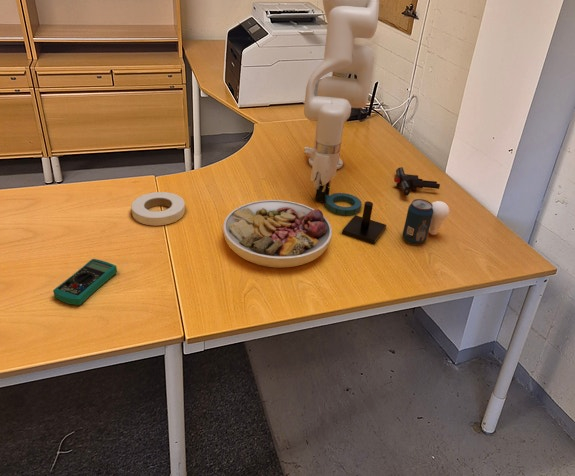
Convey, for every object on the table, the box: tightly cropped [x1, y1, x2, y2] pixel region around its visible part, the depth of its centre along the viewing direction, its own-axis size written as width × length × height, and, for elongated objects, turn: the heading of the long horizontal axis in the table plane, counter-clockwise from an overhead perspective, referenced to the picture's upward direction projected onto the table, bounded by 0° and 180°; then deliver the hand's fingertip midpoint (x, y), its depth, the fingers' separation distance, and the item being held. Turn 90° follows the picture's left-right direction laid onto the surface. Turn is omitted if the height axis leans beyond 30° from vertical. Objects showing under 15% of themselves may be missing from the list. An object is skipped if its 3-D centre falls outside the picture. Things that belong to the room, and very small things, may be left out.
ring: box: [314, 192, 362, 217], centre depth 165 cm, size 15×11×2 cm
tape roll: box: [131, 191, 186, 227], centre depth 154 cm, size 16×15×3 cm
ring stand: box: [341, 200, 387, 245], centre depth 151 cm, size 10×10×10 cm
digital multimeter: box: [52, 258, 118, 306], centre depth 124 cm, size 7×15×3 cm, turn 159°
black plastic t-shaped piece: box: [393, 166, 441, 197], centre depth 177 cm, size 5×20×15 cm
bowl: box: [222, 199, 333, 268], centre depth 144 cm, size 30×30×8 cm
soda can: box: [402, 198, 433, 246], centre depth 148 cm, size 7×7×12 cm
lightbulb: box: [428, 200, 450, 236], centre depth 151 cm, size 6×6×11 cm
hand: (321, 199), depth 167 cm, fingers closed on ring, 2 cm apart
